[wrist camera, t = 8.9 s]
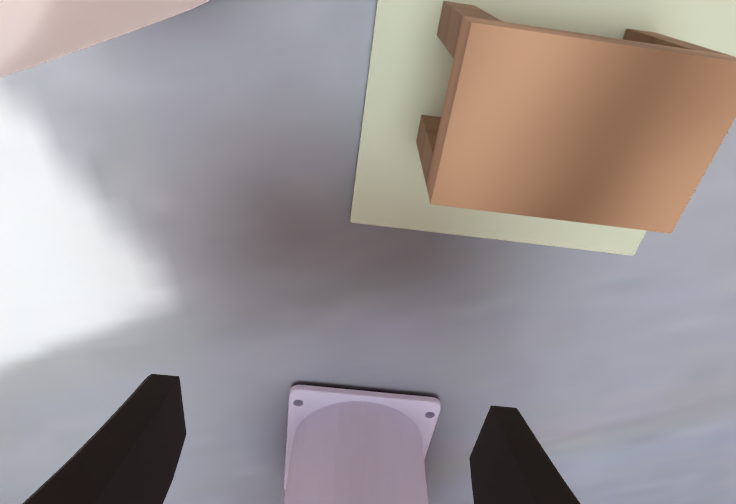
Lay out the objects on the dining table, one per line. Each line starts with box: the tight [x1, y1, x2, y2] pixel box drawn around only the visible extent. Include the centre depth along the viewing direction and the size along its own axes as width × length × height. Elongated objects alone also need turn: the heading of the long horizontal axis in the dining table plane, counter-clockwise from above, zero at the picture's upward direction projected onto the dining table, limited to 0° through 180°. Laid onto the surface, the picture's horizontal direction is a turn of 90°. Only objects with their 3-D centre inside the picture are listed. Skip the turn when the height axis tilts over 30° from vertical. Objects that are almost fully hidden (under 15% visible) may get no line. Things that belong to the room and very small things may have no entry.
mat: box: [350, 0, 736, 256], centre depth 16 cm, size 12×12×1 cm
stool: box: [416, 1, 736, 233], centre depth 14 cm, size 7×5×5 cm, turn 83°
